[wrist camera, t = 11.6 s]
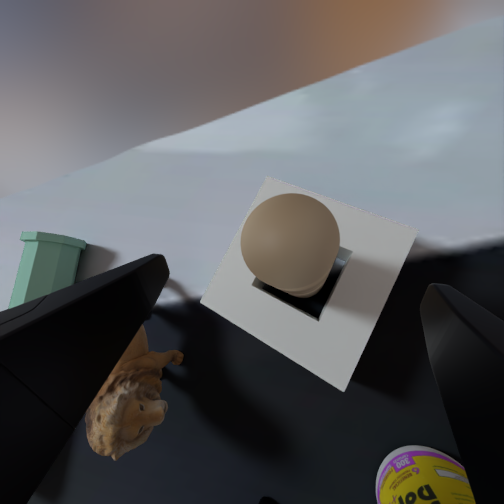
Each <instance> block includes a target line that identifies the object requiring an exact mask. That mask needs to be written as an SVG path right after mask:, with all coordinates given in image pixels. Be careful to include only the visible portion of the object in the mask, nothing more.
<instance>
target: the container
mask: <svg viewBox="0 0 504 504" xmlns="http://www.w3.org/2000/svg"><path fill="white" fill-rule="evenodd" d="M20 240H22V241H24V242H25V246H24V250H23V254H22V257H21V261H20V265H19V269H18V273H17V277H16V281H15V285H14V288H13V292H12V296H11V300H10V304H9V308H8V309H10V308H13V307H15V306H18V305H21V304H23V303H26V302H29V301H31V300H34V299H37V298H39V297H42V296H44V295H47V294H48V295H49V294H50V293H52V292H55V291H57V290H60V289H63V288H65V287H68V286H70V285H73V284H74V281H75V277H76V272H77V267H78V262H79V258H80V253H81V250H85V249H86V244H87V243H86V242H85V241H84V240H80V239H76V238H72V237H68V236H64V235H57V234H51V233H44V232H22V234H21V237H20Z"/></svg>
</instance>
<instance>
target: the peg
mask: <svg viewBox="0 0 504 504" xmlns="http://www.w3.org/2000/svg"><path fill="white" fill-rule="evenodd" d="M240 244H241V252H242V256H243V259H244V261H245V263H246V265H247V267H248V268H249V270H250V271H251V272H252V273H253V274H254V275H255V276H256V277H257V278H258V279H259V280H261V281H263V282H264V283H266V284H268V285H271V286H273V287H275V288H277V289H279V290H282V291H284V292H286V293H288V294H290V295H293V296H295V297H298V298H308V297H312V296H314V295H316V294H317V293H318V292H319V291H320V290H321V289H322V287H323V285H324V283H325V281H326V279H327V277H328V274H329V272H330V270H331V268H332V266H333V263H334V261H335V259H336V257H337V254H338V250H339V245H340V233H339V228H338V225H337V222H336V220H335V218H334V216H333V214H332V213H331V212H330V210H329V209H328V208H327V207H326V206H325V205H324V204H322V203H321V202H320V201H318V200H316V199H315V198H312V197H310V196H307V195H304V194H297V193H287V194H281V195H277V196H274V197H271V198H269V199H267V200H265V201H264V202H262V203H261V204H260V205H258V206H257V207H256V208H255V209H254V210H253V211H252V212H251V214H250V215H249V216H248V218H247V220H246V222H245V224H244V226H243V229H242V233H241V242H240Z"/></svg>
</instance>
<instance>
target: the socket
mask: <svg viewBox="0 0 504 504" xmlns="http://www.w3.org/2000/svg"><path fill="white" fill-rule="evenodd" d="M287 193H297V194H304V195H307V196H310V197H312V198H315V199H316V200H318V201H320V202H321V203H322V204H324V205H325V206H326V207H327V208H328V209H329V210H330V212H331V213H332V214H333V216H334V218H335V220H336V222H337V225H338V228H339V233H340V245H339V250H338V254H337V258H339V259H341V260H344V261H346V262H345V264H344V266H343V269H342V271H341V273H340V275H339V277H338V279H337V281H336V283H335V285H334V287H333V289H332V291H331V293H330V295H329V297H328V299H327V302H326V304H325V306H324V308H323V310H322V312H321V314H320V316H319V318H318V319H317V318H316V317H314V316H312V315H310V314H308V313H306V312H304V311H303V310H301V309H299V308H297V307H295V306H293V305H291V304H290V303H288V302H286V301H284V300H282V299H280V298H279V297H277V296H275V295H273V294H271V293H269V292H267V291H266V290H264V289H262V288H263V286H264V284H265V283H264V282H263V281H261V280H259V279H258V278H257V277H256V276H255V275H254V274H253V273H252V272H251V271H250V270H249V268H248V267H247V265H246V263H245V261H244V259H243V256H242V252H241V244H240V242H241V233H242V229H243V226H244V224H245V222H246V220H247V218H248V216H249V215H250V214H251V212H252V211H253V210H254V209H255V208H256V207H257V206H258V205H260V204H261V203H262V202H264V201H265V200H267V199H269V198H271V197H274V196H277V195H281V194H287ZM418 231H419V230H418V229H416V228H413V227H410V226H407V225H404V224H401V223H399V222H396V221H393V220H390V219H387V218H384V217H382V216H379V215H376V214H373V213H370V212H368V211H365V210H362V209H359V208H356V207H353V206H351V205H348V204H345V203H342V202H339V201H337V200H334V199H331V198H328V197H325V196H322V195H320V194H317V193H314V192H311V191H308V190H306V189H303V188H300V187H297V186H294V185H291V184H289V183H286V182H283V181H280V180H277V179H274V178H272V177H269V176H267V177H266V179H265V181H264V183H263V184H262V186H261V188H260V190H259V192H258V194H257V196H256V198H255V199H254V201H253V203H252V205H251V207H250V209H249V211H248V213H247V214H246V216H245V218H244V220H243V222H242V224H241V226H240V228H239V229H238V231H237V233H236V235H235V237H234V239H233V241H232V243H231V245H230V246H229V248H228V250H227V252H226V254H225V256H224V258H223V260H222V261H221V263H220V265H219V267H218V269H217V271H216V273H215V275H214V276H213V278H212V280H211V282H210V284H209V286H208V288H207V290H206V291H205V293H204V295H203V297H202V299H201V301H200V303H202V304H203V305H205V306H207V307H208V308H210V309H211V310H213V311H215V312H216V313H218V314H219V315H221V316H223V317H224V318H226V319H227V320H229V321H231V322H232V323H234V324H235V325H237V326H239V327H240V328H242V329H243V330H245V331H247V332H248V333H250V334H251V335H253V336H255V337H256V338H258V339H259V340H261V341H263V342H264V343H266V344H267V345H269V346H271V347H272V348H274V349H275V350H277V351H279V352H280V353H282V354H283V355H285V356H287V357H288V358H290V359H291V360H293V361H295V362H296V363H298V364H299V365H301V366H303V367H304V368H306V369H307V370H309V371H311V372H312V373H314V374H315V375H317V376H319V377H320V378H322V379H323V380H325V381H327V382H328V383H330V384H331V385H333V386H335V387H336V388H338V389H339V390H341V391H343V392H344V391H345V389H346V387H347V385H348V383H349V380H350V378H351V376H352V374H353V372H354V370H355V367H356V365H357V363H358V361H359V359H360V357H361V354H362V352H363V350H364V348H365V346H366V344H367V341H368V339H369V337H370V335H371V333H372V331H373V328H374V326H375V324H376V322H377V320H378V318H379V315H380V313H381V311H382V309H383V307H384V305H385V302H386V300H387V298H388V296H389V294H390V292H391V289H392V287H393V285H394V283H395V281H396V279H397V277H398V274H399V272H400V270H401V268H402V266H403V264H404V261H405V259H406V257H407V255H408V253H409V251H410V248H411V246H412V244H413V242H414V240H415V238H416V235H417V233H418Z"/></svg>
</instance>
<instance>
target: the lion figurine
mask: <svg viewBox="0 0 504 504" xmlns="http://www.w3.org/2000/svg"><path fill="white" fill-rule="evenodd" d="M183 356H184V355H183V354H182V353H181V352H180V351H178V350H169V351H167V352H165V353H157V352H154V351H151V352H148V342H147V336H146V333H145V330H144V327H143V324H142V326H141V327H140V329H139V330H138V332H137V334H136V335H135V337H134V338H133V340H132V341H131V343H130V344H129V346H128V347H127V349H126V351H125V352H124V354H123V355H122V357H121V358H120V360H119V361H118V363H117V364H116V366H115V368H114V369H113V371H112V372H111V374H110V375H109V377H108V378H107V380H106V381H105V383H104V385H103V386H102V388H101V389H100V391H99V392H98V394H97V395H96V397H95V398H94V400H93V402H92V403H91V405H90V406H89V408H88V409H87V411H86V412H87V414H86V417H85V422H86V424H87V425H86V431H87V438H88V442H89V444H90V446H91V447H92V449H93V451H95V452H96V453H98V454H100V455H102V456H110V455H111V456H112V458H113V459H114V460H115V461H116V460H117V459H118V458H119V457H121V456H122V455H123V454H124V453H125V452H129V451H130V450H131V449H134V448H136V447H137V446H139V445H141V444H142V443H144V442H145V441H146V440H147V438H148V436H149V435H150V433H151V431H152V430H153V426H156V425H159V424H161V423H162V421H163V420H164V414H165V413H166V411H167V408H168V405H167V402H166V401H164V400H161V399H160V395H159V394H160V392H161V389H162V386H161V383H162V382H161V381H160V378H161V377H162V368H163V367H164V366H166V365H167V364H168V363H169V362H170V361H171V362H172V363H173V364H174V365H176V364H177V365H179V364H180V363H181V362H182V361H183Z"/></svg>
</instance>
